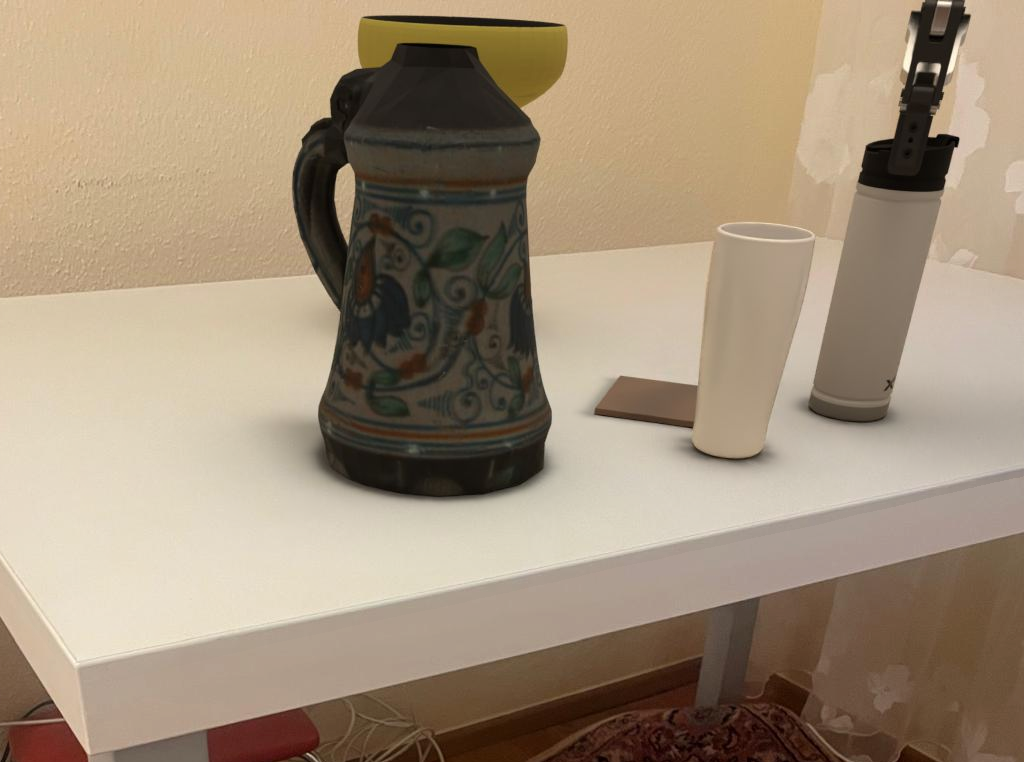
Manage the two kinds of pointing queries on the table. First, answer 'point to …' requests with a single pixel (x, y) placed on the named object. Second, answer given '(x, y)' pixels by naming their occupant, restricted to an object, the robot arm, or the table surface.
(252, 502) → the table surface
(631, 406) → the coaster
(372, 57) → the cocktail glass
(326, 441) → the beer stein
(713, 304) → the drinking glass
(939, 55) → the robot arm
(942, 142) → the travel mug
